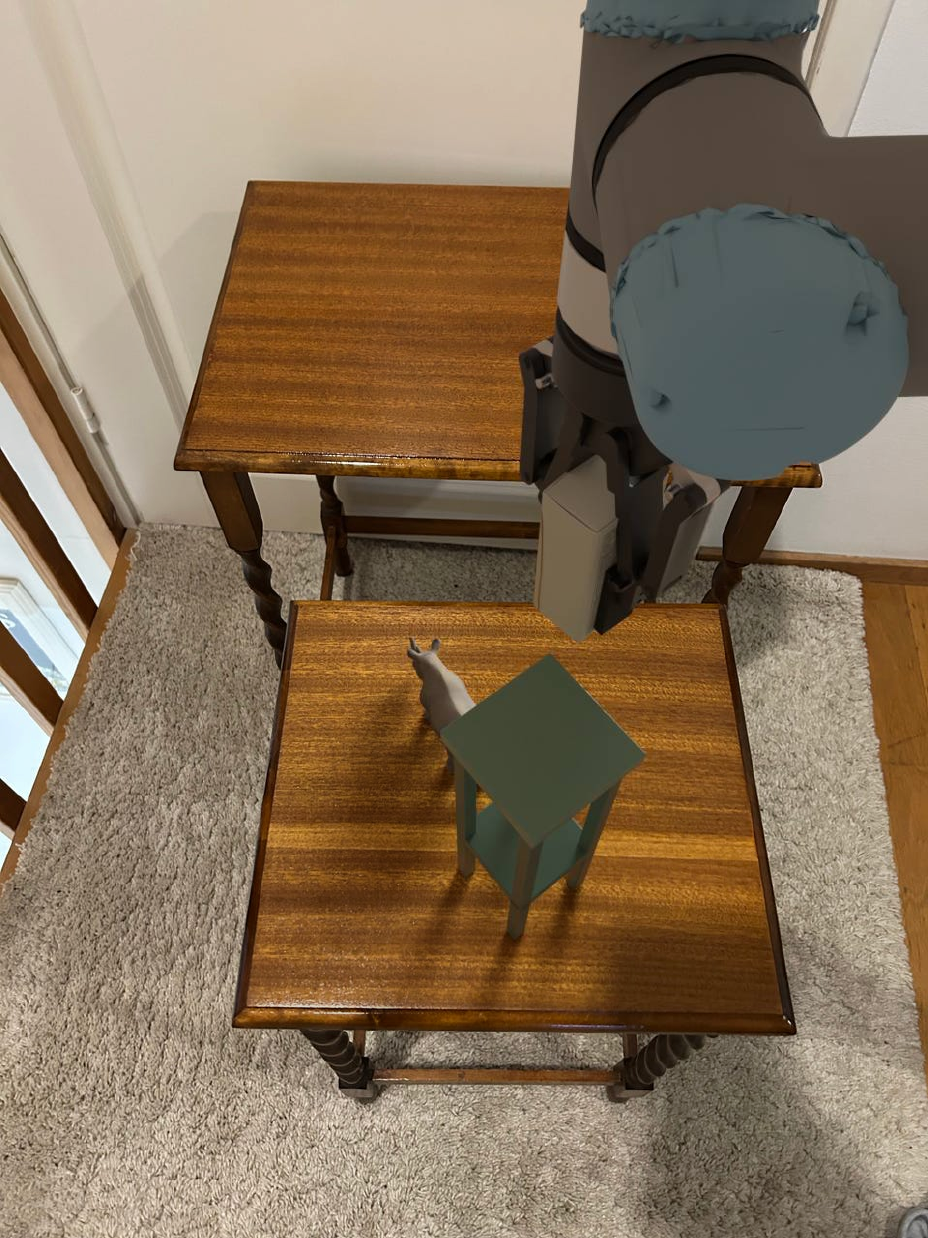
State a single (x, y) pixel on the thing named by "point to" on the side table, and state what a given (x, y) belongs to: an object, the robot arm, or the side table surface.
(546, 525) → the cosmetic box
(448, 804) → the side table surface
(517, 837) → the stand
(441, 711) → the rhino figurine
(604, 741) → the green square board
